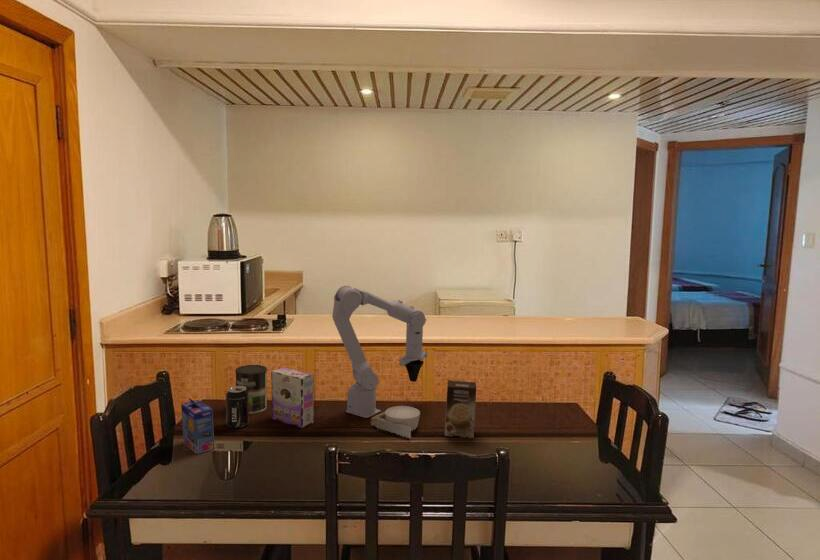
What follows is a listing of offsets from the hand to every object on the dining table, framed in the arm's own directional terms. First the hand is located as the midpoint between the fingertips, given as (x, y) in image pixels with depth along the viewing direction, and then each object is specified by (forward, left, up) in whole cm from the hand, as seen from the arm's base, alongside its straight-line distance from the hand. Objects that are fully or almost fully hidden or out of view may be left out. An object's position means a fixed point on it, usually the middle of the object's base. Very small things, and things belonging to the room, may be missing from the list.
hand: (413, 380), depth 186 cm
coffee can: (-43, -36, -10) cm, 56 cm away
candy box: (-24, -35, -10) cm, 43 cm away
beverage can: (-35, -48, -10) cm, 60 cm away
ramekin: (+7, -17, -10) cm, 21 cm away
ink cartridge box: (-31, -64, -10) cm, 72 cm away
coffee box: (+24, -10, -10) cm, 28 cm away
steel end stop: (+8, -23, -9) cm, 26 cm away
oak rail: (0, -16, -9) cm, 18 cm away
